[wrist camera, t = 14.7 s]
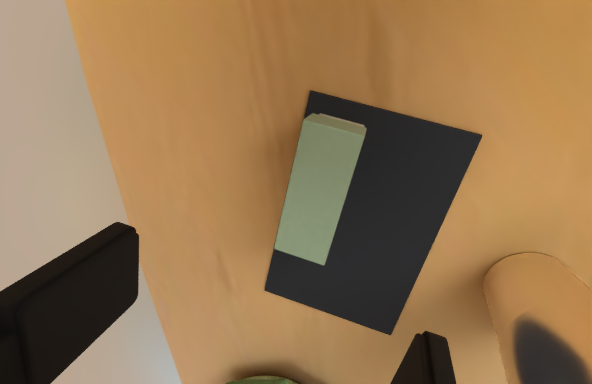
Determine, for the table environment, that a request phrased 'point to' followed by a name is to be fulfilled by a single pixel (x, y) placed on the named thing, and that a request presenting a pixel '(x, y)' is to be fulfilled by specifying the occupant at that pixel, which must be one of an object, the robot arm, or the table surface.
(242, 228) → the table surface
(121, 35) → the table surface
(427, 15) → the table surface
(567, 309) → the metal cup with straw
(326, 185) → the green and beige block
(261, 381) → the educational model
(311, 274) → the desk mat
